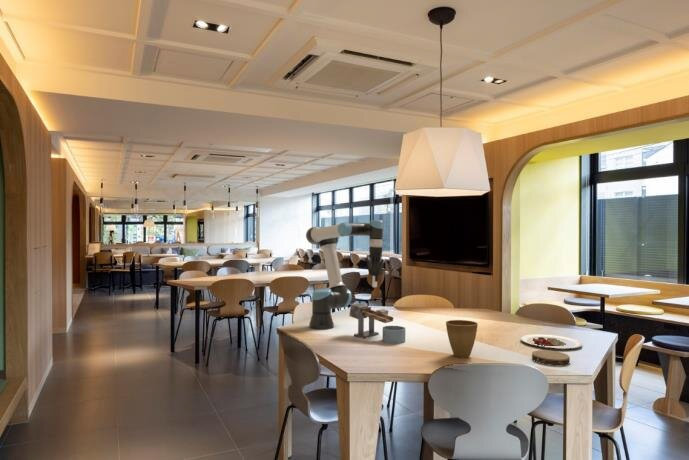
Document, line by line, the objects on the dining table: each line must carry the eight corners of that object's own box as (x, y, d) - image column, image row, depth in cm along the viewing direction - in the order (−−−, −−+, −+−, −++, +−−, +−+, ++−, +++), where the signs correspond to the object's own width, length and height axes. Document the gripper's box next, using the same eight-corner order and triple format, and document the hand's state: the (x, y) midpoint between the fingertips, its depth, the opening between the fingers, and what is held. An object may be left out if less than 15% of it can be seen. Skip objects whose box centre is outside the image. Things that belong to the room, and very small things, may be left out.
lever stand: (353, 336, 257) (353, 312, 257) (367, 332, 267) (367, 309, 267) (364, 338, 252) (365, 314, 252) (378, 334, 262) (378, 311, 262)
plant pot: (482, 355, 219) (483, 322, 219) (468, 361, 208) (468, 327, 208) (454, 349, 229) (455, 318, 229) (439, 355, 218) (440, 322, 218)
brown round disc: (546, 354, 222) (547, 348, 222) (577, 363, 208) (577, 356, 208) (524, 359, 215) (524, 352, 215) (554, 368, 201) (554, 361, 201)
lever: (349, 316, 263) (350, 304, 262) (364, 312, 274) (365, 301, 273) (384, 328, 247) (386, 316, 246) (398, 324, 258) (400, 313, 257)
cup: (378, 341, 247) (378, 328, 247) (391, 337, 256) (391, 324, 256) (397, 344, 239) (397, 331, 239) (409, 340, 248) (409, 327, 248)
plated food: (583, 342, 249) (583, 335, 249) (580, 354, 223) (580, 347, 223) (525, 335, 264) (525, 329, 264) (515, 346, 238) (516, 340, 238)
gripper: (363, 246, 265) (361, 286, 266) (381, 247, 257) (380, 288, 257) (370, 245, 271) (369, 285, 272) (388, 247, 263) (387, 287, 263)
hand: (374, 286), depth 264 cm, fingers closed
